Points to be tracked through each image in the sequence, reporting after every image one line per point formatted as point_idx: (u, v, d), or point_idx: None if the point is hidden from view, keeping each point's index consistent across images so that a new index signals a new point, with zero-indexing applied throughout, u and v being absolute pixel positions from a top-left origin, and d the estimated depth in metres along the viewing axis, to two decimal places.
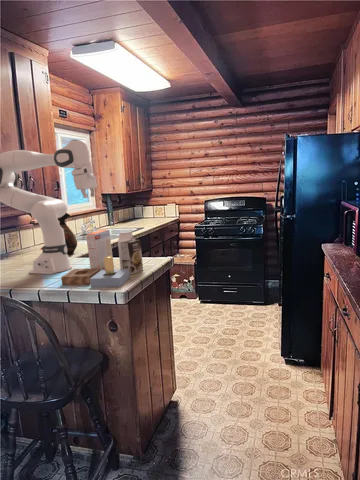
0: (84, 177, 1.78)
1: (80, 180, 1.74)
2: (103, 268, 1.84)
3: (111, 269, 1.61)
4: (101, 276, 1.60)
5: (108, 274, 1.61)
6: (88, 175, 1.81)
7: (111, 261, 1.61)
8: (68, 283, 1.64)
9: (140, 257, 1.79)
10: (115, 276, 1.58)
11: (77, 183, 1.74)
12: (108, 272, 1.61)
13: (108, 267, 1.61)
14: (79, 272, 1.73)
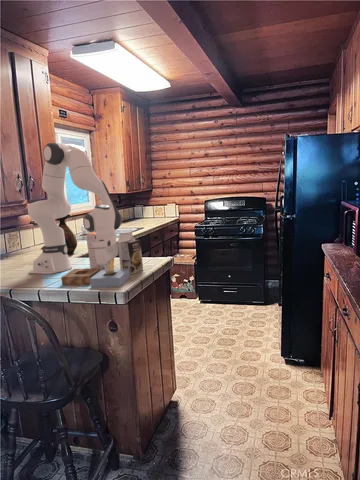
0: (107, 250, 1.55)
1: (102, 255, 1.51)
2: (103, 268, 1.84)
3: (111, 269, 1.61)
4: (101, 276, 1.60)
5: (108, 274, 1.61)
6: (111, 246, 1.59)
7: (111, 261, 1.61)
8: (68, 283, 1.64)
9: (140, 257, 1.79)
10: (115, 276, 1.58)
11: (98, 258, 1.52)
12: (108, 272, 1.61)
13: None
14: (79, 272, 1.73)
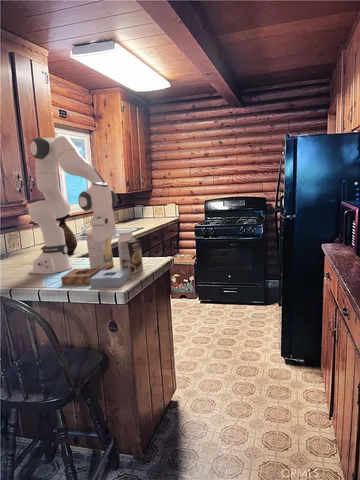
0: (104, 228, 1.54)
1: (99, 232, 1.50)
2: (103, 268, 1.84)
3: (108, 248, 1.59)
4: (101, 276, 1.60)
5: (105, 253, 1.60)
6: (108, 224, 1.57)
7: (108, 240, 1.59)
8: (68, 283, 1.64)
9: (140, 257, 1.79)
10: (115, 276, 1.58)
11: (95, 235, 1.50)
12: (105, 250, 1.59)
13: None
14: (79, 272, 1.73)
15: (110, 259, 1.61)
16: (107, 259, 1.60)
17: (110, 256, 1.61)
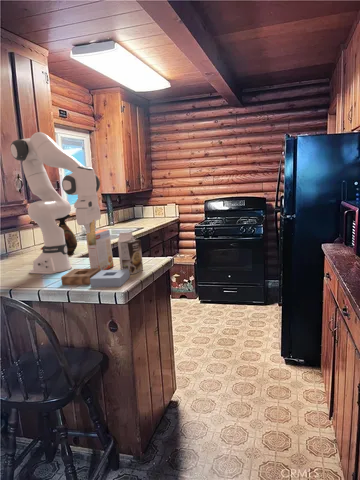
0: (88, 211, 1.56)
1: (83, 215, 1.52)
2: (103, 268, 1.84)
3: (92, 231, 1.62)
4: (101, 276, 1.60)
5: (89, 236, 1.62)
6: (92, 208, 1.59)
7: (92, 223, 1.61)
8: (68, 283, 1.64)
9: (140, 257, 1.79)
10: (115, 276, 1.58)
11: (79, 218, 1.52)
12: (89, 234, 1.61)
13: None
14: (79, 272, 1.73)
15: (94, 242, 1.63)
16: (91, 242, 1.62)
17: (94, 239, 1.63)
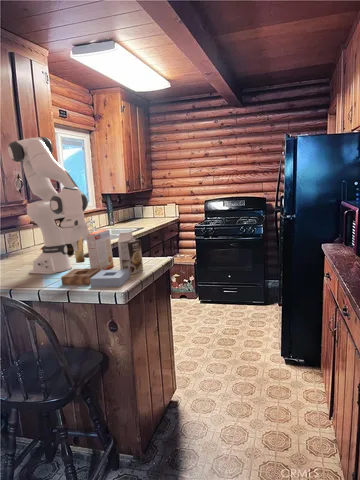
0: (74, 229, 1.60)
1: (69, 234, 1.56)
2: (103, 268, 1.84)
3: (80, 249, 1.66)
4: (101, 276, 1.60)
5: (77, 254, 1.66)
6: (79, 226, 1.63)
7: (80, 241, 1.65)
8: (68, 283, 1.64)
9: (140, 257, 1.79)
10: (115, 276, 1.58)
11: (65, 237, 1.56)
12: (77, 251, 1.66)
13: None
14: (79, 272, 1.73)
15: (82, 260, 1.67)
16: (79, 260, 1.66)
17: (82, 257, 1.67)
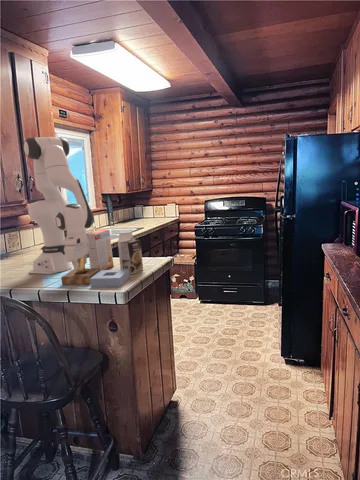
0: (76, 247, 1.62)
1: (71, 252, 1.58)
2: (103, 268, 1.84)
3: (82, 268, 1.68)
4: (101, 276, 1.60)
5: (79, 272, 1.68)
6: (81, 244, 1.65)
7: (82, 260, 1.67)
8: (68, 283, 1.64)
9: (140, 257, 1.79)
10: (115, 276, 1.58)
11: (68, 255, 1.58)
12: (79, 270, 1.67)
13: (79, 266, 1.67)
14: None
15: None
16: None
17: None
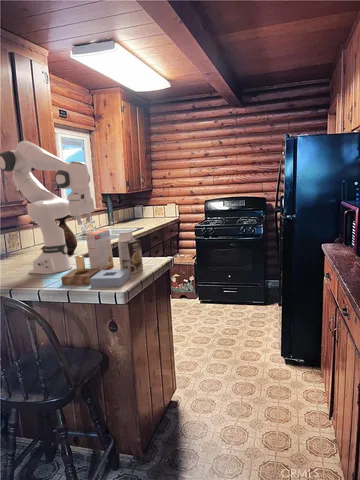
0: (80, 203, 1.65)
1: (75, 207, 1.61)
2: (103, 268, 1.84)
3: (82, 268, 1.68)
4: (101, 276, 1.60)
5: (79, 272, 1.68)
6: (85, 200, 1.68)
7: (82, 260, 1.67)
8: (68, 283, 1.64)
9: (140, 257, 1.79)
10: (115, 276, 1.58)
11: (72, 209, 1.62)
12: (79, 270, 1.67)
13: (79, 266, 1.67)
14: None
15: None
16: None
17: None
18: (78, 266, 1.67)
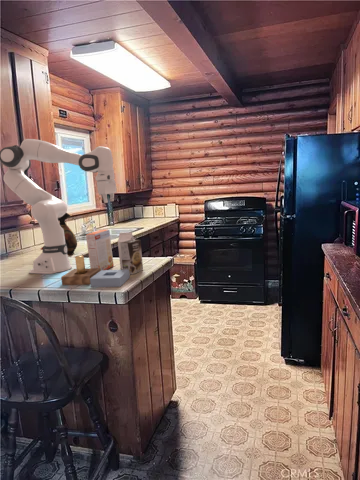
0: (106, 183, 1.87)
1: (103, 186, 1.83)
2: (103, 268, 1.84)
3: (82, 268, 1.68)
4: (101, 276, 1.60)
5: (79, 272, 1.68)
6: (110, 181, 1.90)
7: (82, 260, 1.67)
8: (68, 283, 1.64)
9: (140, 257, 1.79)
10: (115, 276, 1.58)
11: (100, 188, 1.83)
12: (79, 270, 1.67)
13: (79, 266, 1.67)
14: None
15: None
16: None
17: None
18: (78, 266, 1.67)
